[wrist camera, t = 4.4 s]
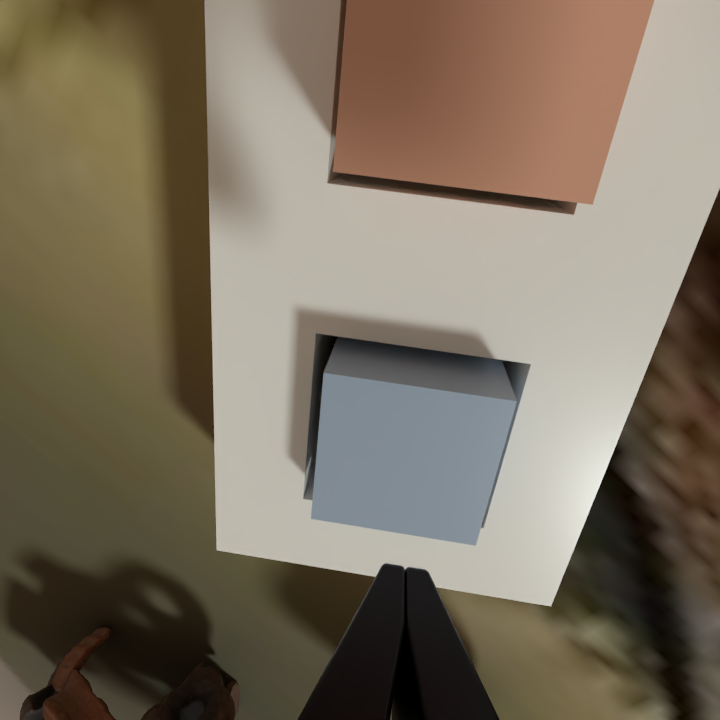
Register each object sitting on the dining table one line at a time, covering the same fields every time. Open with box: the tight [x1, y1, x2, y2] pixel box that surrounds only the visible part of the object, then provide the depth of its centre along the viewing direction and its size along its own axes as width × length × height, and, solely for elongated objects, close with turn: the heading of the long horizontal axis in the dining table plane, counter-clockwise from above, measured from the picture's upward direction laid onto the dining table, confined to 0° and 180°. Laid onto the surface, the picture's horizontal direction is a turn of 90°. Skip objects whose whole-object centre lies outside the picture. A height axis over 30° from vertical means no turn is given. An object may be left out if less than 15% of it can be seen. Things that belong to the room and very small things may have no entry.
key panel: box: [205, 0, 720, 606], centre depth 15 cm, size 12×22×4 cm, turn 174°
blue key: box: [311, 336, 517, 546], centre depth 15 cm, size 5×5×3 cm
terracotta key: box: [333, 0, 654, 205], centre depth 10 cm, size 5×5×3 cm
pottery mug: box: [20, 627, 239, 720], centre depth 26 cm, size 12×10×8 cm
